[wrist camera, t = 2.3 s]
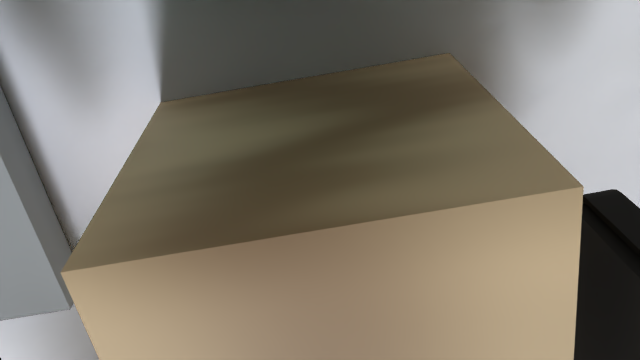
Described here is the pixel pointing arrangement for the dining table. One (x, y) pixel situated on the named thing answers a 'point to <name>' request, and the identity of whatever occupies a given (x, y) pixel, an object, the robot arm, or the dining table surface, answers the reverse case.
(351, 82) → the oak block
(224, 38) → the dining table surface
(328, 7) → the dining table surface
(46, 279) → the board
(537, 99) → the dining table surface
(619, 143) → the dining table surface
